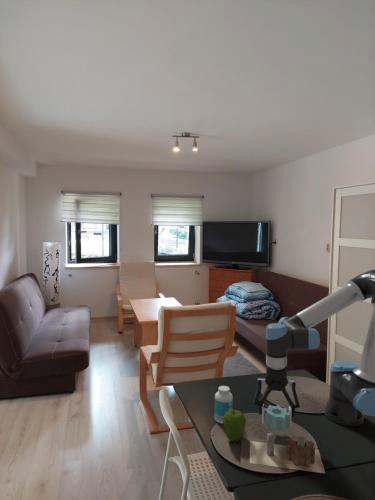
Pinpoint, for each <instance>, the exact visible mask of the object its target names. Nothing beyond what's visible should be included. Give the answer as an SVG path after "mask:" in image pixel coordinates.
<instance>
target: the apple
mask: <svg viewBox="0 0 375 500" xmlns="http://www.w3.org/2000/svg"><path fill="white" fill-rule="evenodd" d="M245 417H246V416H245V415H244V413H242V411H241V410H238V409H233V410H229V411H227V412H226V413H225V414H224V417H223V424H222V425H223V429H224V433H225V435H226V437H227V439H228V440H229V441H230V442H232V443H235V442H238V441H239V440H240V439H242V435H243V434H244V431H245V427H246V424H247V423H246V422H247V420H246V418H245Z"/></svg>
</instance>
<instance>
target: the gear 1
mask: <svg viewBox="0 0 375 500" xmlns="http://www.w3.org/2000/svg"><path fill="white" fill-rule="evenodd" d="M264 426H265V428H267V429H268V428H270V429H272V431H274V432H277V431H278V430H279V431H282V432H284V431H286V428H287V429H288V428H290V427H289V409H287V408H286V407H284V408H283V407H281V405H278V404H277V405H276V406H273V405H267V408H265V407H264Z"/></svg>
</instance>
